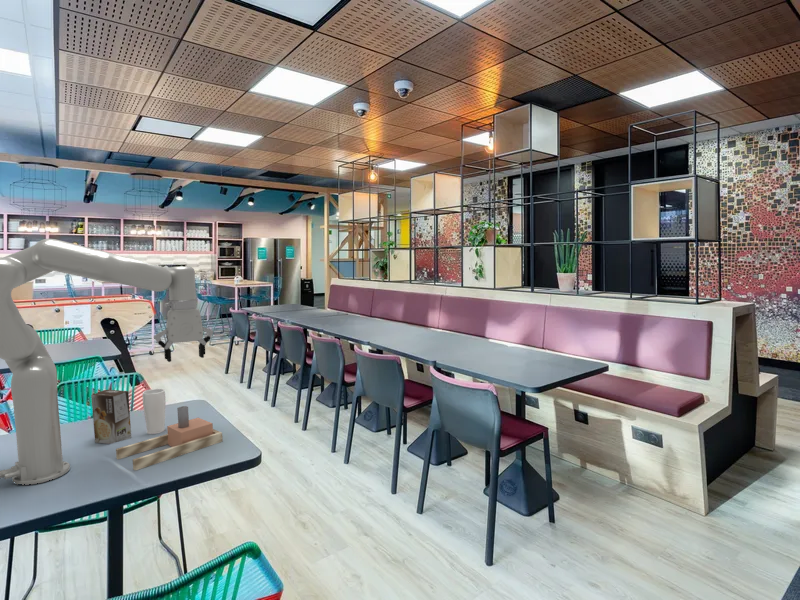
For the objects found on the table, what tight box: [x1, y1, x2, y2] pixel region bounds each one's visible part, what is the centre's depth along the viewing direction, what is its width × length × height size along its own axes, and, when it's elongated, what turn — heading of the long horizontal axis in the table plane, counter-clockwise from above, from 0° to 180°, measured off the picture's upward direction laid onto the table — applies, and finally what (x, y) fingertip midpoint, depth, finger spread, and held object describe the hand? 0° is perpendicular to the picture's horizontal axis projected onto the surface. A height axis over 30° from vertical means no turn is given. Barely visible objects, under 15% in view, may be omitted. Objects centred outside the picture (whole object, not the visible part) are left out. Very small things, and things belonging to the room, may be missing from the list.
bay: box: [115, 428, 223, 471], centre depth 142 cm, size 26×13×4 cm, turn 141°
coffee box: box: [91, 389, 132, 445], centre depth 152 cm, size 9×6×16 cm
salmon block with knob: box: [166, 405, 214, 448], centre depth 146 cm, size 10×9×12 cm
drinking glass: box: [142, 388, 167, 435], centre depth 157 cm, size 7×7×15 cm
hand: (185, 359), depth 148 cm, fingers open, 9 cm apart
